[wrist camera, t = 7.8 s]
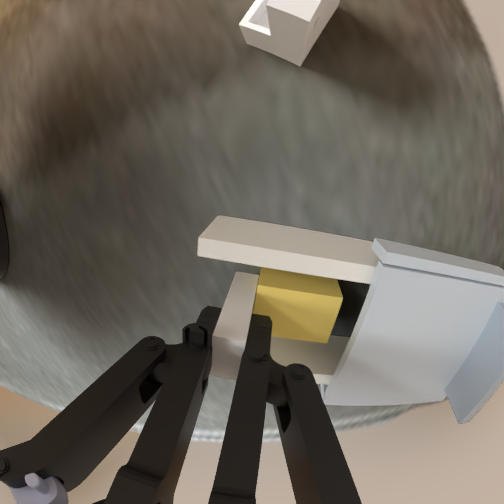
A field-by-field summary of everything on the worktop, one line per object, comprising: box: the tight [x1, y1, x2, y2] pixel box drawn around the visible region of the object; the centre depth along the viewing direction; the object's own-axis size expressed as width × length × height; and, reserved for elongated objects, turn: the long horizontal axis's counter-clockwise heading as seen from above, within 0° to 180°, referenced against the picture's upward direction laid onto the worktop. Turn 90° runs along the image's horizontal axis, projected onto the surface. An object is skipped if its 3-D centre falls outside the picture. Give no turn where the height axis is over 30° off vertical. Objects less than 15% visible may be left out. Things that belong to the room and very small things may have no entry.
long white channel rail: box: [197, 215, 381, 385], centre depth 17 cm, size 20×9×4 cm, turn 82°
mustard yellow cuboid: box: [253, 267, 343, 343], centre depth 17 cm, size 5×4×4 cm
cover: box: [320, 238, 504, 424], centre depth 13 cm, size 11×11×6 cm
